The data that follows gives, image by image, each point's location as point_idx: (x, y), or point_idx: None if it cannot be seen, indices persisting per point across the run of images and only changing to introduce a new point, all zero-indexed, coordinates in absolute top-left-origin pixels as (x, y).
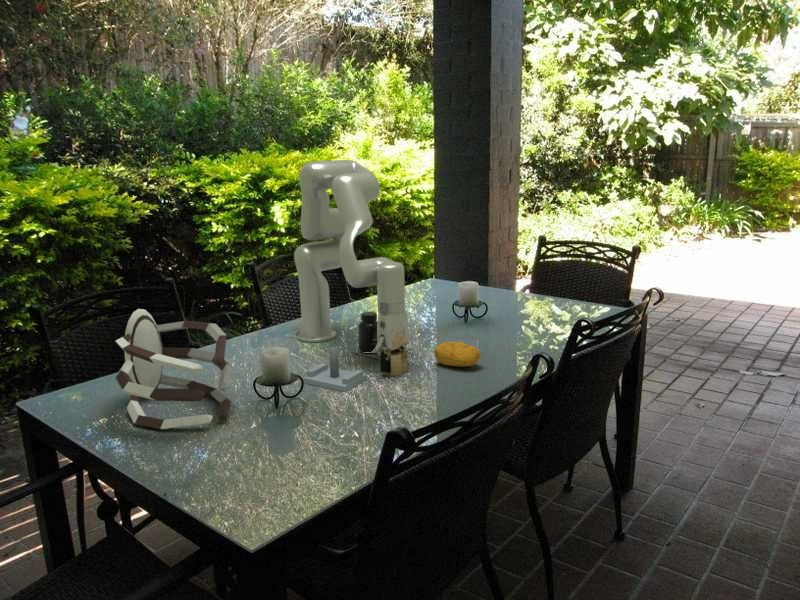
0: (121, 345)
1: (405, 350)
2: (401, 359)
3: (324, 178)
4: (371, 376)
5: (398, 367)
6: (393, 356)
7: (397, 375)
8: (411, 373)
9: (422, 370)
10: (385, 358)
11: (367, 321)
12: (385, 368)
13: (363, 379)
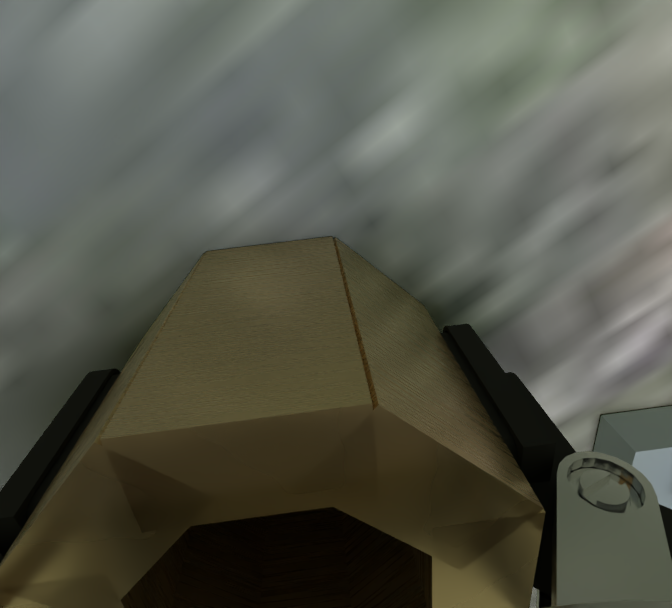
0: None
1: (65, 494)
2: (345, 336)
3: None
4: None
5: (376, 298)
6: (492, 463)
7: (371, 265)
8: (212, 170)
9: (14, 109)
10: (634, 498)
11: None
12: (520, 389)
13: (667, 421)
